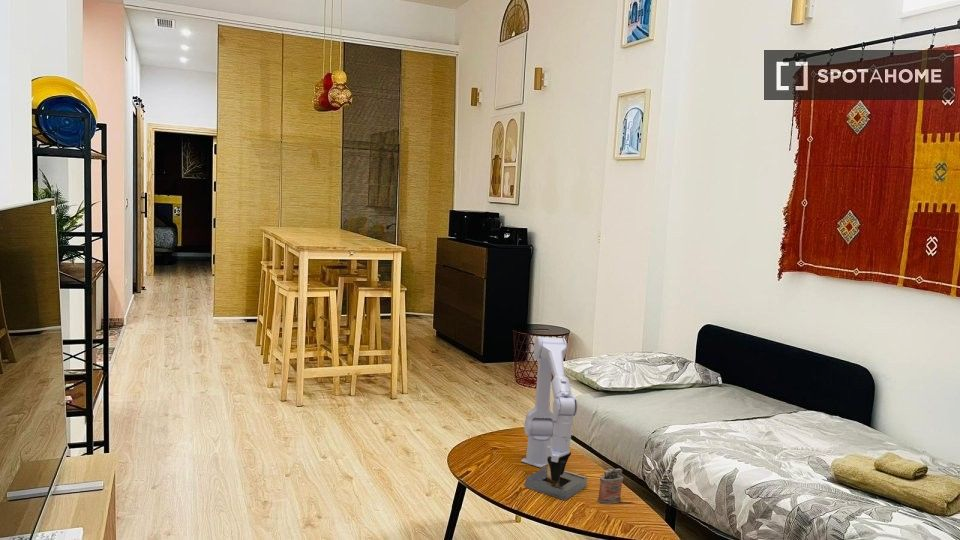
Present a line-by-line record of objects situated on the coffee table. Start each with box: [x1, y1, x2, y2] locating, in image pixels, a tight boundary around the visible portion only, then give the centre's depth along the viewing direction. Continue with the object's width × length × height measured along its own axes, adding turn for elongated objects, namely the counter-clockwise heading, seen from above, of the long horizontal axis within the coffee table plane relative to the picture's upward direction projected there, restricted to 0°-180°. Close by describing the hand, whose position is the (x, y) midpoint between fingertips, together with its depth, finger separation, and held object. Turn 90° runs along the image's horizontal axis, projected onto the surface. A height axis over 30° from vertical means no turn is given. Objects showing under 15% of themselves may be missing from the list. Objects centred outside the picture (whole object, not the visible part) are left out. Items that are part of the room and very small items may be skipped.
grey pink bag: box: [597, 468, 624, 505], centre depth 223 cm, size 8×3×10 cm, turn 117°
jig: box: [524, 465, 588, 501], centre depth 231 cm, size 15×14×3 cm
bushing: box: [546, 463, 560, 486], centre depth 228 cm, size 4×4×8 cm
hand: (557, 477), depth 228 cm, fingers open, 5 cm apart
